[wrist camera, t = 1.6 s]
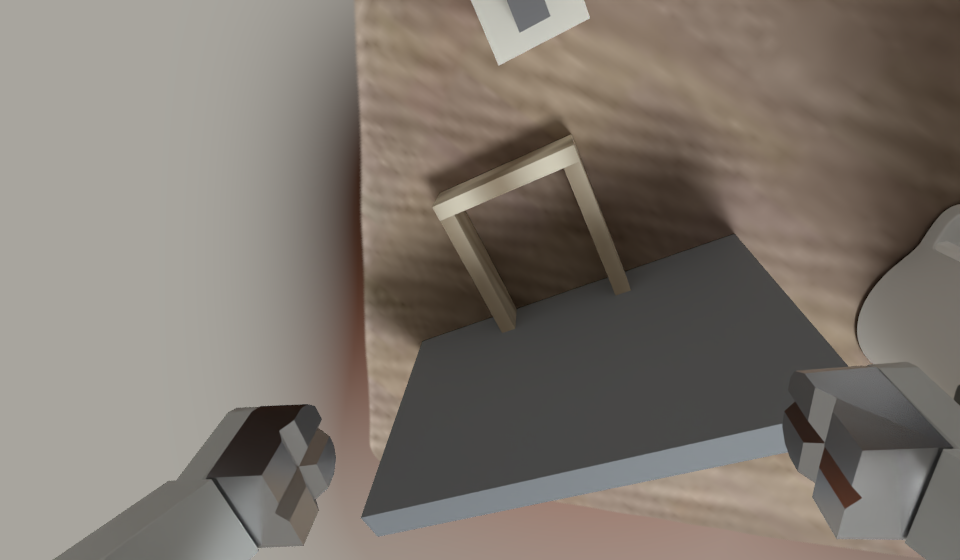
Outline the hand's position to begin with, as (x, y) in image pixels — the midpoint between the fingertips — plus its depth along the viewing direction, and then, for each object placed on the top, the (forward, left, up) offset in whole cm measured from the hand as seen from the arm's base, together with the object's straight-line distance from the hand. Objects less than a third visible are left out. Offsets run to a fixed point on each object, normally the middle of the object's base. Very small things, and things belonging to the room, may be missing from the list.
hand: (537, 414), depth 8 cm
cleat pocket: (+4, +9, -29) cm, 31 cm away
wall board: (+4, +16, -29) cm, 33 cm away
